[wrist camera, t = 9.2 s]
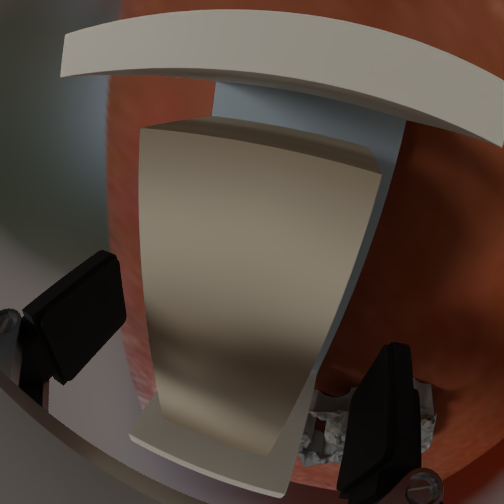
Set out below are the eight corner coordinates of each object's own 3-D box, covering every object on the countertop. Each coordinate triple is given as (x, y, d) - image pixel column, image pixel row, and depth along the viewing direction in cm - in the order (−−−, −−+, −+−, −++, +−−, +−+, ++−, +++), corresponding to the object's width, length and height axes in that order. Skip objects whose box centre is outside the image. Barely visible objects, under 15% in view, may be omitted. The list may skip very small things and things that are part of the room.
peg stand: (226, 62, 12) (65, 34, 4) (407, 97, 10) (513, 86, 2) (200, 335, 20) (131, 440, 12) (314, 372, 18) (280, 498, 11)
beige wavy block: (214, 116, 9) (140, 127, 6) (368, 147, 8) (382, 174, 5) (198, 360, 15) (162, 417, 12) (288, 391, 14) (267, 456, 11)
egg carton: (437, 367, 16) (444, 417, 12) (428, 424, 18) (430, 466, 15) (286, 383, 20) (271, 429, 17) (307, 433, 23) (297, 472, 19)
